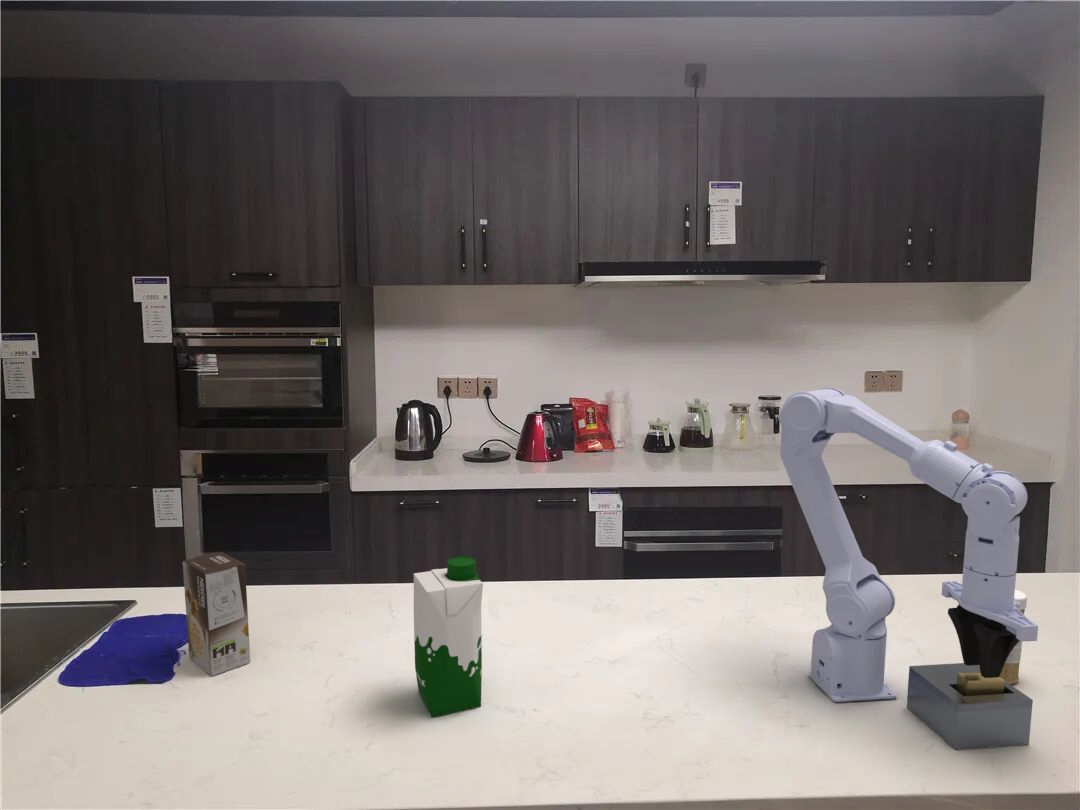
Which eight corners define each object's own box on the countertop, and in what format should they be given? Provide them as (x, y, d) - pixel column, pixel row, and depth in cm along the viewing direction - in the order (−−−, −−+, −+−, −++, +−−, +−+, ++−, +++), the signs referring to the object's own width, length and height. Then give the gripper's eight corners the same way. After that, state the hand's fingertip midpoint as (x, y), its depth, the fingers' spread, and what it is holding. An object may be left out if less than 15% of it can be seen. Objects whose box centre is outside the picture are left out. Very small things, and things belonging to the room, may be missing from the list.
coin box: (955, 749, 91) (958, 704, 90) (906, 707, 101) (909, 666, 100) (1028, 744, 92) (1032, 699, 91) (973, 702, 102) (976, 662, 101)
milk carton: (489, 708, 101) (488, 568, 98) (425, 723, 97) (422, 578, 95) (470, 679, 109) (468, 549, 106) (410, 691, 105) (406, 557, 103)
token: (964, 717, 94) (967, 680, 93) (954, 709, 96) (957, 673, 95) (1001, 716, 94) (1004, 680, 93) (990, 708, 96) (994, 672, 95)
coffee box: (252, 662, 114) (247, 563, 112) (211, 677, 109) (205, 574, 107) (226, 644, 120) (221, 550, 118) (186, 657, 115) (180, 559, 113)
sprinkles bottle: (976, 671, 111) (983, 586, 109) (1004, 670, 111) (1011, 585, 110) (998, 686, 106) (1005, 598, 105) (1027, 685, 107) (1035, 597, 105)
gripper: (1065, 588, 86) (1055, 697, 87) (978, 549, 100) (971, 643, 102) (1010, 591, 85) (1000, 701, 87) (930, 551, 99) (923, 645, 101)
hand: (981, 670), depth 94 cm, fingers open, 3 cm apart
